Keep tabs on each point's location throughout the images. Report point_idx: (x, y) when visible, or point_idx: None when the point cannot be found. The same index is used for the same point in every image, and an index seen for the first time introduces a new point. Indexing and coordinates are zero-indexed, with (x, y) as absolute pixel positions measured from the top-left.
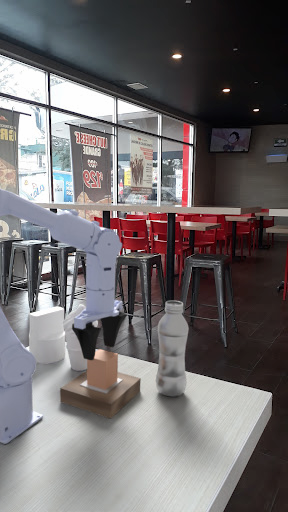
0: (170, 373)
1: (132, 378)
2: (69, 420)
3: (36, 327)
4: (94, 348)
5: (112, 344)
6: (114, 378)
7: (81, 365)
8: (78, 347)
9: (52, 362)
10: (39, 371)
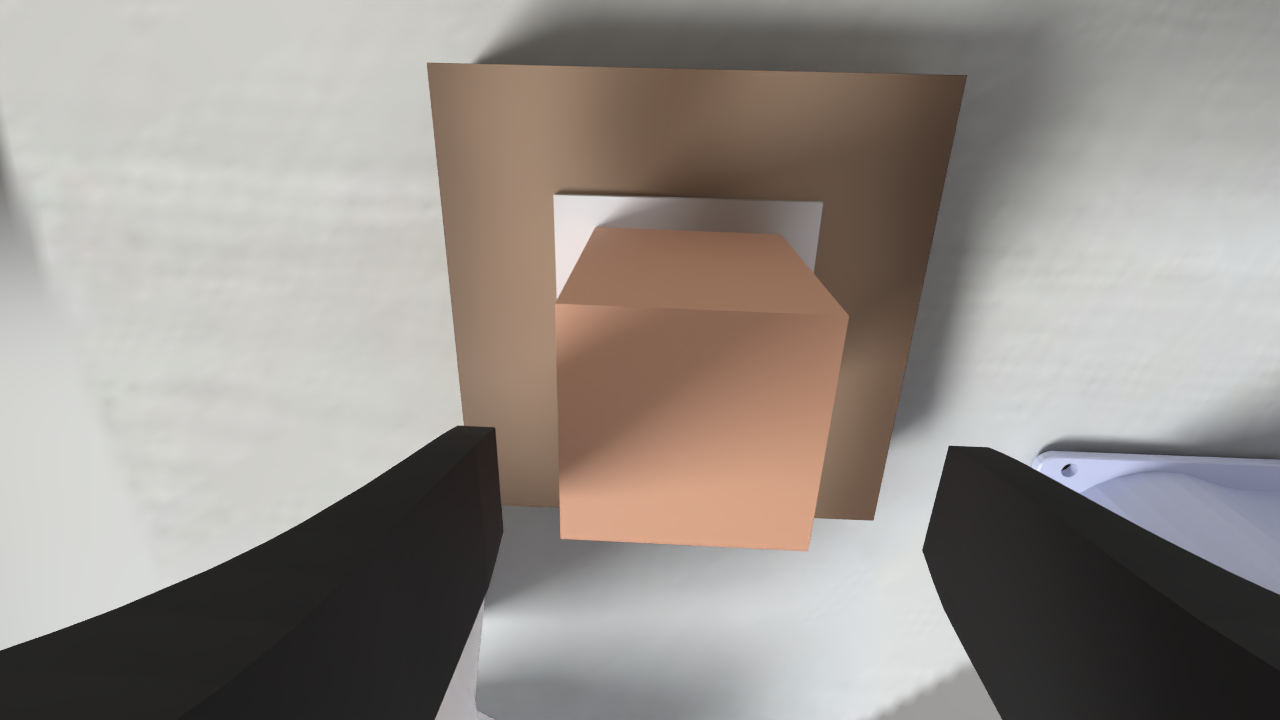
0: None
1: (475, 132)
2: (1015, 312)
3: None
4: (1106, 527)
5: (485, 451)
6: (642, 237)
7: None
8: (446, 707)
9: (483, 715)
10: (604, 712)
